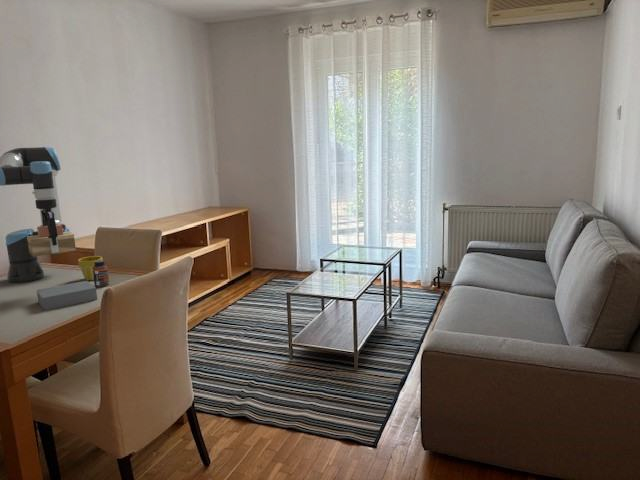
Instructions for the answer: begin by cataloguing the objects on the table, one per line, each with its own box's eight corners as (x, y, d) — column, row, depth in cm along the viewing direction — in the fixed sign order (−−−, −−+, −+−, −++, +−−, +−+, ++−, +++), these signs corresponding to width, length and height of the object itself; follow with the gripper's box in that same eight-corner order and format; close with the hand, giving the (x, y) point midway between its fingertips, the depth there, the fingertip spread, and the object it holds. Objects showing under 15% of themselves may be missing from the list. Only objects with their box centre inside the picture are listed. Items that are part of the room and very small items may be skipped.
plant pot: (95, 282, 219) (92, 261, 217) (75, 281, 221) (72, 261, 219) (109, 275, 229) (106, 256, 227) (90, 275, 231) (87, 255, 229)
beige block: (29, 252, 202) (26, 236, 200) (70, 246, 211) (68, 231, 210) (33, 256, 194) (30, 239, 193) (75, 250, 204) (73, 234, 202)
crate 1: (38, 236, 200) (36, 226, 199) (48, 234, 203) (47, 225, 202) (39, 237, 197) (38, 228, 196) (50, 236, 200) (49, 226, 199)
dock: (38, 301, 192) (36, 290, 191) (88, 291, 204) (87, 280, 203) (44, 310, 181) (42, 298, 180) (97, 299, 193) (95, 287, 192)
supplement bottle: (99, 288, 208) (96, 263, 206) (91, 286, 211) (88, 261, 209) (112, 284, 213) (109, 260, 211) (104, 283, 216) (101, 259, 214)
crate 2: (51, 234, 203) (49, 225, 202) (61, 233, 206) (60, 224, 205) (53, 235, 200) (51, 226, 199) (63, 234, 203) (62, 225, 202)
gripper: (30, 197, 204) (38, 247, 209) (39, 201, 187) (48, 256, 192) (50, 196, 209) (57, 245, 214) (61, 200, 192) (68, 253, 196)
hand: (52, 250), depth 203 cm, fingers closed on beige block, 10 cm apart
